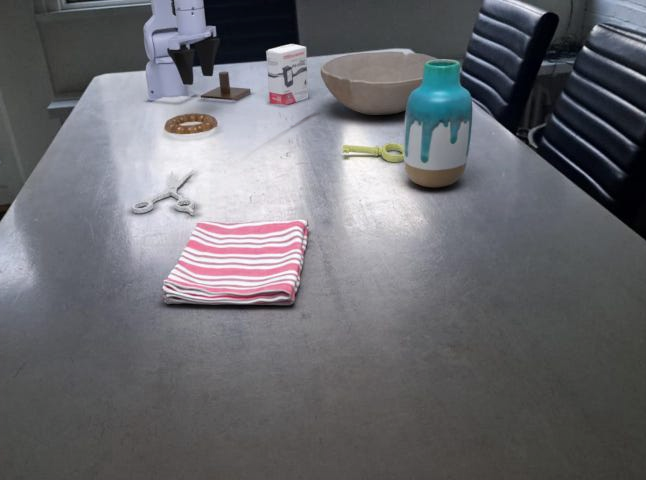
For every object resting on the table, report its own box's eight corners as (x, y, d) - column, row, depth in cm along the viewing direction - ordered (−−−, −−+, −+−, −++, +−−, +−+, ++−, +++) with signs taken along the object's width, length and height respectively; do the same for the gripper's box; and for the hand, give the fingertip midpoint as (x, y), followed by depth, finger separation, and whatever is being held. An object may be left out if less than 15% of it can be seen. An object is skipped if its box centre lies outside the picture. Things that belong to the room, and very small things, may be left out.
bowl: (463, 105, 153) (467, 57, 147) (398, 137, 137) (400, 84, 131) (366, 90, 167) (366, 46, 161) (297, 118, 151) (295, 70, 145)
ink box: (283, 106, 159) (280, 52, 152) (268, 103, 162) (265, 49, 156) (309, 98, 164) (307, 45, 157) (294, 95, 167) (292, 43, 160)
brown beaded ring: (155, 137, 145) (153, 124, 143) (185, 122, 153) (183, 110, 151) (199, 142, 140) (197, 129, 139) (227, 126, 148) (226, 114, 147)
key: (339, 155, 129) (339, 144, 128) (401, 148, 131) (401, 137, 130) (349, 168, 123) (349, 156, 122) (414, 160, 125) (415, 149, 124)
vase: (426, 168, 121) (434, 52, 110) (478, 182, 115) (492, 60, 104) (388, 186, 116) (392, 65, 104) (441, 201, 109) (451, 74, 98)
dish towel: (160, 309, 86) (155, 284, 84) (200, 230, 105) (197, 209, 103) (295, 311, 84) (294, 286, 82) (311, 230, 103) (310, 208, 101)
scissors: (128, 213, 109) (154, 168, 126) (128, 217, 110) (154, 172, 126) (193, 211, 109) (211, 166, 125) (194, 216, 109) (211, 170, 125)
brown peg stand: (200, 100, 168) (197, 75, 165) (220, 91, 174) (217, 67, 171) (232, 103, 164) (229, 78, 161) (250, 93, 171) (248, 69, 167)
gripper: (185, 14, 130) (194, 89, 137) (225, 2, 140) (232, 73, 148) (155, 13, 133) (166, 87, 140) (196, 2, 143) (204, 71, 151)
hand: (198, 80), depth 144 cm, fingers open, 7 cm apart
